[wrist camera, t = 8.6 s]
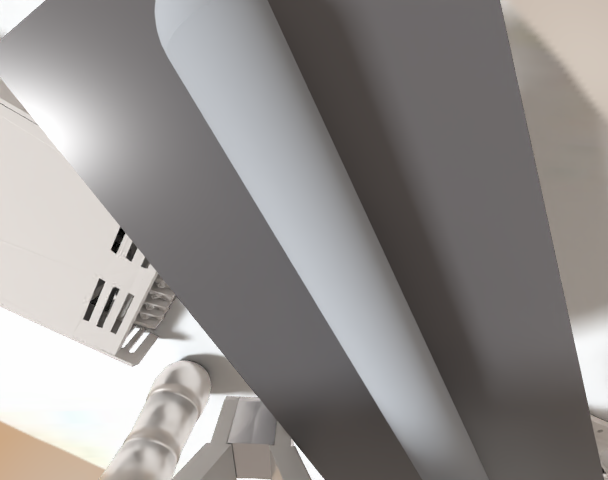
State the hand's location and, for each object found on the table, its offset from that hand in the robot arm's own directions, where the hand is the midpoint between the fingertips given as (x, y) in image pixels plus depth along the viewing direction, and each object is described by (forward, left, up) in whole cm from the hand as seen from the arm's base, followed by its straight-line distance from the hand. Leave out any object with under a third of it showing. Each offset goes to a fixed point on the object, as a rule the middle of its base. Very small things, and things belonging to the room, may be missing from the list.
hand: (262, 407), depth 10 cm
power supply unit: (+25, +3, -19) cm, 31 cm away
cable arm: (-3, -5, -2) cm, 6 cm away
